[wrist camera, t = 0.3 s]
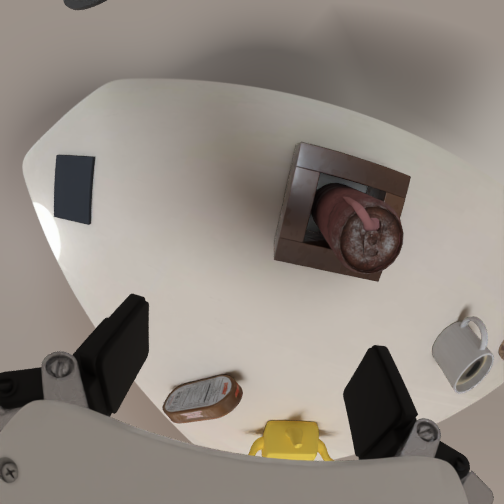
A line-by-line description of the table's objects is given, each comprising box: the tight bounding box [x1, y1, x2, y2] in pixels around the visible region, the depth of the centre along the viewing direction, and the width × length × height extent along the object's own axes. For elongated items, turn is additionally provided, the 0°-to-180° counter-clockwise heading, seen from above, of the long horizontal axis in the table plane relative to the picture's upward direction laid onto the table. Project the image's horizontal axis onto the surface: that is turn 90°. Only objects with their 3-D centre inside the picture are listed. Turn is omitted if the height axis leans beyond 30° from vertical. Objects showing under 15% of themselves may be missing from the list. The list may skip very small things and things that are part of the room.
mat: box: [54, 155, 95, 225], centre depth 33 cm, size 10×8×1 cm
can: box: [311, 183, 403, 274], centre depth 25 cm, size 6×6×14 cm
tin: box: [163, 375, 243, 423], centre depth 40 cm, size 15×3×8 cm, turn 118°
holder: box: [274, 142, 411, 282], centre depth 29 cm, size 12×12×6 cm
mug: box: [432, 316, 494, 393], centre depth 33 cm, size 11×10×10 cm
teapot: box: [248, 421, 334, 461], centre depth 43 cm, size 15×14×10 cm
